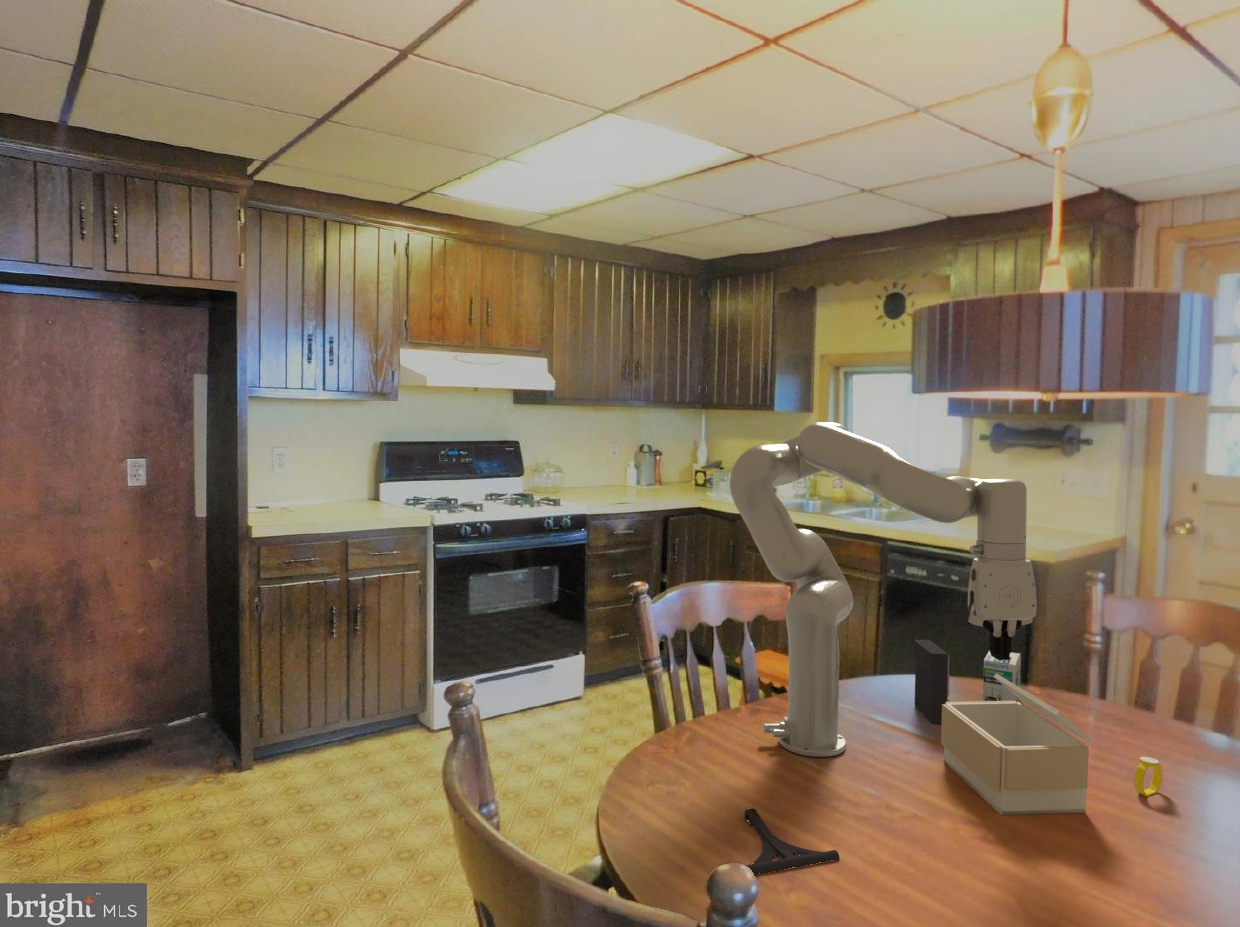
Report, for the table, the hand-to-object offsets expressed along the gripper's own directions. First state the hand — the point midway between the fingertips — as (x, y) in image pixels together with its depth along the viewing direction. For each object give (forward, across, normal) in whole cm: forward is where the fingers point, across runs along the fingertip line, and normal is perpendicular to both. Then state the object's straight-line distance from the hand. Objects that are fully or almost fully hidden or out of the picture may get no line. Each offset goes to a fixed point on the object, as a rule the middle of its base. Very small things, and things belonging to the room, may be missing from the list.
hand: (1000, 657), depth 138 cm
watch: (+23, +24, -4) cm, 34 cm away
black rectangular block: (+22, +3, +34) cm, 40 cm away
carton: (+23, +2, 0) cm, 23 cm away
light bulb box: (+23, +22, +40) cm, 51 cm away
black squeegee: (+23, -44, -15) cm, 52 cm away
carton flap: (+9, +7, 0) cm, 12 cm away
